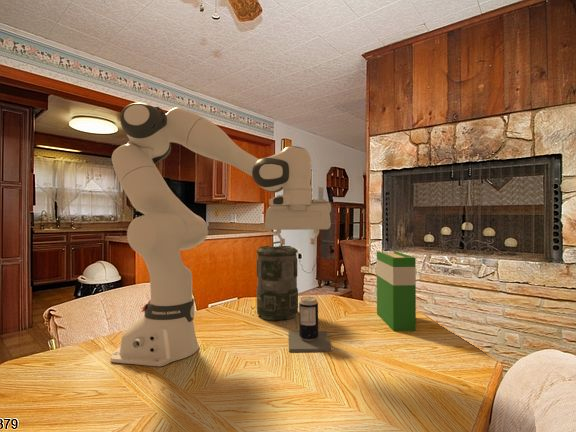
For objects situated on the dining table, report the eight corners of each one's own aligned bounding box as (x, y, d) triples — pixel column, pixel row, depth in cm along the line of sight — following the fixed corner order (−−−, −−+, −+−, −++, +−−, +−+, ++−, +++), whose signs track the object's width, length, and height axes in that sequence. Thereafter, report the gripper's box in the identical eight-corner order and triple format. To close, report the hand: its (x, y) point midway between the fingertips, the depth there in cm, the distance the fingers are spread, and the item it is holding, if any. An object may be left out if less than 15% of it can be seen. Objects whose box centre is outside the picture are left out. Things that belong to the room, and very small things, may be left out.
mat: (289, 351, 87) (289, 349, 87) (288, 333, 100) (288, 331, 100) (331, 351, 87) (331, 348, 87) (325, 333, 100) (325, 331, 100)
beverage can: (322, 339, 94) (321, 299, 94) (307, 343, 90) (307, 302, 90) (309, 333, 98) (309, 295, 98) (295, 337, 95) (295, 298, 95)
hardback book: (376, 313, 120) (376, 251, 119) (396, 313, 120) (395, 251, 120) (393, 331, 102) (393, 257, 102) (415, 330, 102) (415, 257, 102)
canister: (287, 324, 109) (286, 244, 109) (248, 317, 116) (248, 242, 116) (304, 311, 123) (304, 240, 123) (269, 306, 130) (268, 239, 130)
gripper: (329, 199, 100) (329, 243, 100) (265, 200, 99) (265, 243, 99) (332, 198, 93) (332, 245, 93) (264, 199, 93) (264, 245, 93)
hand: (297, 244), depth 96 cm, fingers open, 8 cm apart
